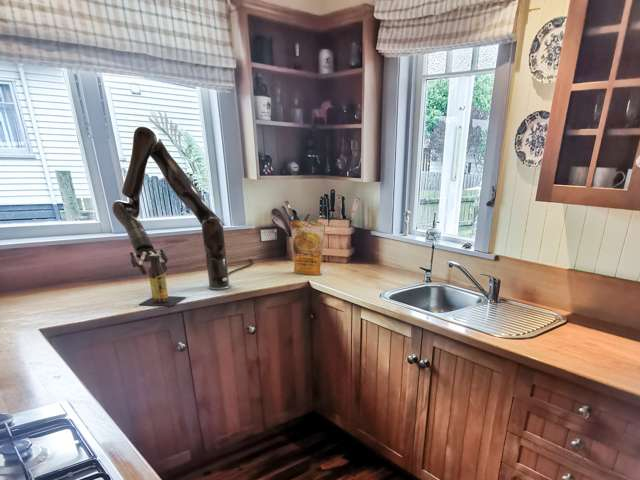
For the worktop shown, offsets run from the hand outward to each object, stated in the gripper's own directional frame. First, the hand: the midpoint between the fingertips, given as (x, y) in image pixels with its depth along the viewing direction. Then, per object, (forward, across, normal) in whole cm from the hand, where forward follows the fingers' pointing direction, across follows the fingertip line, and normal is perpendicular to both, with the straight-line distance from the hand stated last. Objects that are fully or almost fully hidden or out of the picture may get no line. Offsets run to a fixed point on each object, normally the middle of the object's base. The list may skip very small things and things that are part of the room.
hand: (155, 272), depth 198 cm
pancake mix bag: (+6, +84, +12) cm, 85 cm away
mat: (+10, +1, +8) cm, 13 cm away
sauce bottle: (+10, 0, +8) cm, 13 cm away
